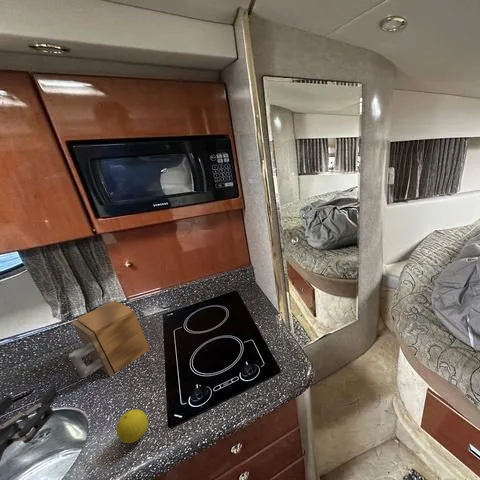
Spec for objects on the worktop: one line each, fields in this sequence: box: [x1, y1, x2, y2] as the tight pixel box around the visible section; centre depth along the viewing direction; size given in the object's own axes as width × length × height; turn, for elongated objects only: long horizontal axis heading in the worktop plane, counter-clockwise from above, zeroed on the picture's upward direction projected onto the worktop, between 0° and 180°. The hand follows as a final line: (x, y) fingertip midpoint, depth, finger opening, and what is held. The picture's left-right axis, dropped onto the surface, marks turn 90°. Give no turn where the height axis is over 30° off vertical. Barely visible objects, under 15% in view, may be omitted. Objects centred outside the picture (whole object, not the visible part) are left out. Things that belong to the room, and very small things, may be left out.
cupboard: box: [76, 299, 151, 374], centre depth 78 cm, size 10×12×16 cm
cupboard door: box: [68, 319, 115, 379], centre depth 71 cm, size 6×12×16 cm, turn 61°
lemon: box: [116, 408, 149, 444], centre depth 56 cm, size 6×6×8 cm
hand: (32, 394), depth 55 cm, fingers open, 8 cm apart
